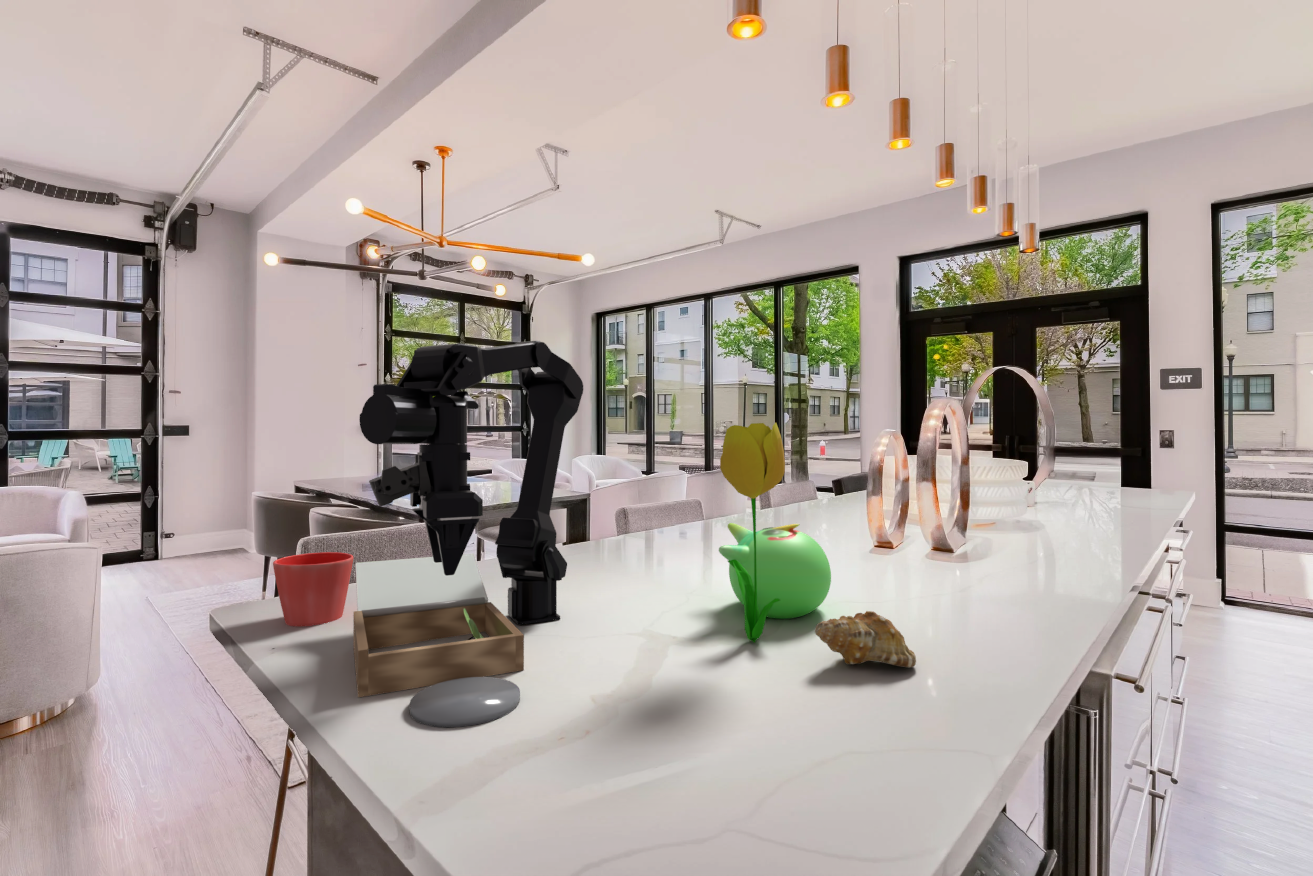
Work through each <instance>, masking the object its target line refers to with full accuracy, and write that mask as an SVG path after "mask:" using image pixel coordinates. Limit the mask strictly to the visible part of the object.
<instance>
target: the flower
mask: <svg viewBox="0 0 1313 876" xmlns="http://www.w3.org/2000/svg"><path fill="white" fill-rule="evenodd" d="M719 461H720V463H719V464H720V465H719V466H720V467H719V469H720V472H721V474H722V475H723V476H722V477H724V478H725V479H726V481H727V482H728V483H729V484H730V485H731V486H732V487H733V488H734V489H735V490H736V492H737V493H738V494H741V495H742V496H745V497H748V498H750V501H751V514H752V531H753V535H754V585H753V582H752V579H751V576H750V575H749V574H748V572H747V571H746V570H745V569H744V567H743V566H742V565H741V564H740V563H739V562H738V561H737V560H736V559H735V560H727V562H728V564H729V563H730V564H731V565H732V566H733V567H734V568H735V570H736V573H737V576H738V582H739V586H740V589H741V592H742V596H743V600H744V605H743V607H744V608H743V609H744V632H745V634H746V637H747V638H746V639H747V640H748V641H751V642H753V644H754V643H756V642H757V640H758V639H760V638H761V636H762V634H763V631H764V628H765V624H766V619H767V618H768V617H767V614H768V612H769V610H770V608H771V607H772V606H773V604H774V603H775V602H778V601H780V599H778V598H777V599H776V598H775V599H774V600H772V601H771V602H770V603H768V604H767V605H766V606H764V608H763V609H762V611H761V613H760V612H759V609H758V605H757V571H756V532H757V518H756V517H757V511H756V510H757V509H756V508H757V505H756V504H757V501H756V500H757V498H758V497H759V496H761V495H763V494H765V493H766V492H769V491H771V490H772V489H774V488H776V486H777V485H778V484H780V482H782V481H783V480H782V479H783V477H784V475H785V472H786V471H785V470H786V459H785V449H784V444H783V439H782V435H781V433H780V429H779V427H778V424H777V422H774V424H772V427H769V425H766V424H765V423H764V422H757V423H750V424H749V425H748V426H747V427H746V426H743V425H736V424H733V425H731V426H729V427H727V428H726V432H725V434H724V439H723V444H722V454H721V456H720V459H719Z"/></svg>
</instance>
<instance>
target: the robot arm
mask: <svg viewBox="0 0 1313 876" xmlns="http://www.w3.org/2000/svg"><path fill="white" fill-rule="evenodd" d="M533 368H539V369H541V370H542V371H538V372H536V373H535V371H533V370H532V369H533ZM513 371H517V372H518V380H519V381H518V383H519V385H520V386H521V387H522V388H523V390H524V391H525V392H526V393H527V402H526V404H527V405H528V408H529V412H530V414H531V416H532V419H533V424H532V429H531V435H530V440H529V445H528V450H527V456H526V460H525V467H524V470H523V476H522V481H521V487H520V492H519V497H518V502H517V508H516V510H515V511H514V512H513V513H512V514H511V515H510V517H506V516H505V517H502V518H501V520H500V522H499V528H498V529H499V530H498V535H497V538H496V540H495V542H494V545H496V558H497V560H498V565H499V568H500V573H501V577H502V578H503V579H507V578H508V579H509V578H510V579H511V581H510V582H511V584H510V587H508V588H507V615H508V617H510V619H511V620H513V621H514V623H516V624H517V625H519V626H520V625H528V624H529V625H530V624H534V623H535V624H536V623H545V622H551V621H557V620H561V615H560V614H559V613H557V612H558V611H557V603H558V602H557V589H558V588H557V585H558V584H557V582H559V581H562V578H565V577H566V573H567V567H568V562H567V561H566V559H565V558H564V557H563V554H562V553H561V552H560V550H559V548H557V546H556V545H557V531H556V529H555V525H554V523H553V520H552V518H551V507H552V501H553V497H554V491H555V484H556V479H557V473H558V468H559V462H560V457H561V450H562V445H563V438H564V433H565V429H566V426H567V424H568V423H569V422H570V421H571V420H572V419H573V418H574V416H575V415H576V414H577V413H578V410H579V407H580V404H581V400H582V396H583V394H584V383H583V381H582V378H581V377H580V376H579V374H578V373H577V371H576V370H575V368H574V367H573V365H572V364H570V362H568V361H567V360H565V359H563V358H562V357H560V356H559V355H557V354H556V353H554V352H553V351H552V349H550V347H549V346H548V345H547V343H545V342H543V341H541V340H529V341H518V342H516V343H514V344H506V345H499V346H492V347H483V348H482V347H479V346H477V345H474V344H467V343H449V344H439V345H427V346H424V345H423V346H420V347H418V348H416V349H415V350H414V354H413V355H412V357H411V361H410V363H409V365H408V367H407V368H406V370H405V371H404V372H403V374H402V376H401V377H400V379H399V380H398V381H397V384H392V383H380V384H374V385H373V387H372V391H373V392H372V395H371V396H370V397H369V398H368V399H367V400H366V401H365V402H364V404H363V407H362V409H361V413H360V414H359V428H360V430H361V433H362V435H363V436H364V438H365V439H366V440H367V441H368V442H369V443H371V444H374V445H419V450H418V451H419V452H417V454H414V464H411V465H409V466H406V467H403V468H398V466H396V465H392V466H391V467H388V468H384V469H382V470H381V475H380V476H377V477H375V478H371V479H369V480H368V483H369V485H370V488H371V490H372V492H373V495H374V498H375V500H376V502H377V505H378V506H379V507H383V506H386V505H390V504H392V503H393V502H394V501H395V500H398V499H401V498H403V497H406V496H408V495H410V497H409V499H410V501H409V502H410V504H409V505H410V506H411V507H412V511H413V512H414V513H415V514H416V515H417V516H418V517H419V518H420V519H422V520H423V522H424V524H425V528H426V532H427V538H428V542H429V546H430V550H431V554H432V557H433V560H434V562H435V563H438V562H442V565H443V570H444V574H445V575H446V576H448V575H454V574H455V571H456V569H457V567H458V565H459V562H460V560H461V558H462V555H463V554H465V553H464V552H465V550H466V548H467V546H468V544H469V541H470V540H471V537H472V536H473V533H474V532H475V528H476V527H477V524H478V523H479V522H480V519H481V518H480V517H482V516H483V513H484V511H483V510H484V509H483V508H484V506H483V503H484V502H483V501H484V500H483V499H482V498H481V497H480V496H479V495H478V493H476V492H474V491H472V490H471V485H470V484H468V461H471V452H470V451H468V411H469V410H478V409H479V407H480V405H479V404H478V403H477V401H476V400H475V399H474V398H472V397H471V396H470V394H469V393H468V391H467V389H469V388H471V387H473V386H475V385H477V384H479V383H482V382H483V380H484V378H486V377H488V376H491V375H497V374H501V373H506V372H507V373H508V372H513ZM463 390H464V391H463ZM413 507H415V508H413ZM483 517H484V516H483Z"/></svg>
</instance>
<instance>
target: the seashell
mask: <svg viewBox="0 0 1313 876" xmlns="http://www.w3.org/2000/svg"><path fill="white" fill-rule="evenodd" d="M814 633H815V635H816V636H817V637H818V638H819V639H820V640H821V641H822V643H825V644H826V645H827V647H828V648H829V649H830V650H831V651H832V652H834V653H838V654H840V655H841V657H842V658H843V659H844V663H845V664H846V665H855V664H859V665H860V664H863V663H865V662H868V661H873V662H880V663H884V664H887V665H892V666H897V667H903V668H913V667H915V666H916V665H917V664H916V663H917V657H916V654H915V652H914V651H913V650H911V649H910V648H909V647H908V645H907V643H906V641H905V637H904V636H903V634H902V632H900V630H899V629H897V628H896V626H895V625H894V624H893V622H892V621H891V620H890V619H889V618H886V617H884V616H882V615H880V614H877V613H876V612H875V611H872V610H866V611H865V612H864V613H862V612H857V613H856V614H855V615H854V616H852V615H848V616H845V615H841V616H839V618H838V619H836V618H830V619H828V620H823V621H821V622H818V623H817V624H816V626H815V629H814Z"/></svg>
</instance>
